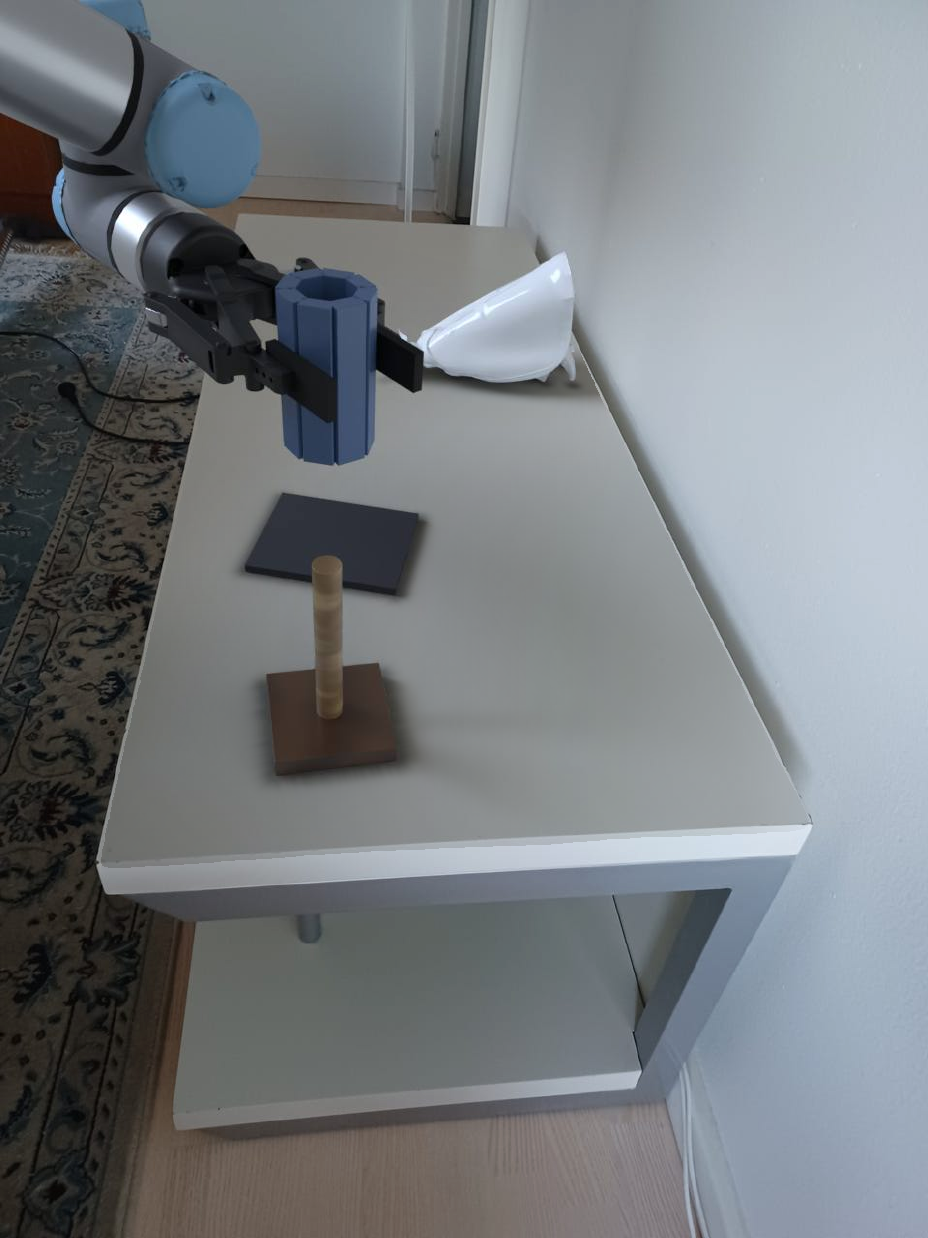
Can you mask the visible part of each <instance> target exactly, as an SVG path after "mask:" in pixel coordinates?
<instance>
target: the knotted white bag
mask: <svg viewBox="0 0 928 1238" xmlns="http://www.w3.org/2000/svg"><path fill="white" fill-rule="evenodd" d="M576 291H577V290H576V287H575V283H574V279H573V276H572V271H571V267H570V263H569V260H568V256H567V253H566V252H565V251H561V252H560V253H558V254H556V255H554V256H552V257H551V258H550V259H548V260H546V261H544V262H542V263H541V264H540V265H539V266H537V267H535V268H534V269H531V270H530V271H528V272H526V273H524V274H523V275H520V276H519V277H517V278H515V279H513V280H511V281H509V282H508V283H505V284H503V285H502V286H500V287H498V288H496V289H494V290H492V291H491V292H489V293H487V294H485V295H483V296H482V297H480V298H478V299H477V300H474V301H473V302H471V303H469V304H467V305H466V306H464V307H461V308H460V309H459V310H456V311H455V312H453V313H452V314H450V315H449V316H447V317H446V318H444V319H442V320H441V321H439V322H438V323H436V324H434V325H433V326H431V327H430V328H428V329H425V330H423V331H422V332H421V335H420V336H419V337H418V339H417V340H416V342H415V341H408V336H407V335H406V334H404V333H402V332H401V330H400V328H398V329H397V330H398V334H399V335H400V336H401V338H402V339H404V340H405V341H407V342H409V343H410V344H412V345H414V346H415V347H417V348H419V349H420V350H422V351H424V362H423V367H425V368H427V369H430V368H439V369H441V370H443V371H444V373H445V374H448V375H449V376H452V377H470V378H471V377H472V378H474V379H478V380H480V381H484V382H488V383H514V382H523V381H528V380H529V381H530V380H533V379H535V380H537V381H539V382H543V383H546V381H547V379H548V377H549V376H550V373H551V372H552V371H553V370H555V369H556V368H557V367H558V366H559V365H560V366H561V367H562V368H564V370H565V371H566V373H567V374H568V378H569V381H572V382H575V380H576V374H577V373H576V372H577V371H576V362H575V357H574V356H573V354H574V353H575V345H574V344H570V343H571V338H572V330H573V321H574V320H573V318H574V307H575V301H576V295H577V292H576Z"/></svg>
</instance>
